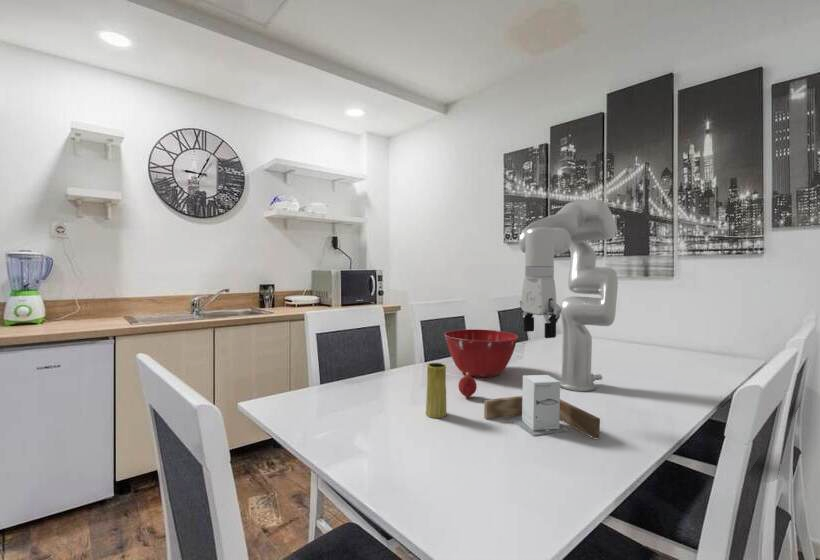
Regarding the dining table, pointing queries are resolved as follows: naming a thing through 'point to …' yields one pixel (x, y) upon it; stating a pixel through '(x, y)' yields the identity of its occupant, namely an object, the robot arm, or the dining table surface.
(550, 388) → the supplement box
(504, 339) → the mixing bowl
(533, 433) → the pad
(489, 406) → the corner arena
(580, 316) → the robot arm
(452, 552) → the dining table surface
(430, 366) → the vase
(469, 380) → the red oval fruit
